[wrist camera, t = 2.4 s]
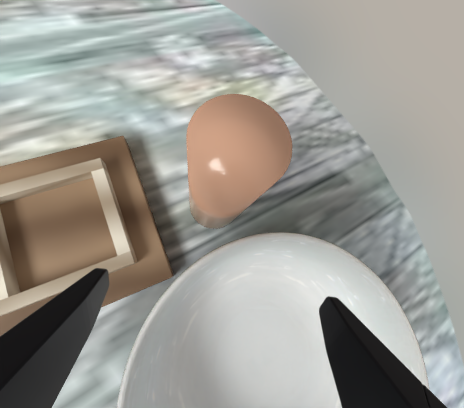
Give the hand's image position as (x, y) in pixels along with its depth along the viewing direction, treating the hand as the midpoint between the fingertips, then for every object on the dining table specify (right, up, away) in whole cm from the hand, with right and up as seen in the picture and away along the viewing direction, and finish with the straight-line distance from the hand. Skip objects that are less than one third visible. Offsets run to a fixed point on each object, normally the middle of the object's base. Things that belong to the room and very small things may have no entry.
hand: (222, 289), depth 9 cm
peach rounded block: (-1, +3, +14) cm, 14 cm away
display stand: (-14, +1, +11) cm, 18 cm away
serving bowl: (+3, -10, +12) cm, 16 cm away
